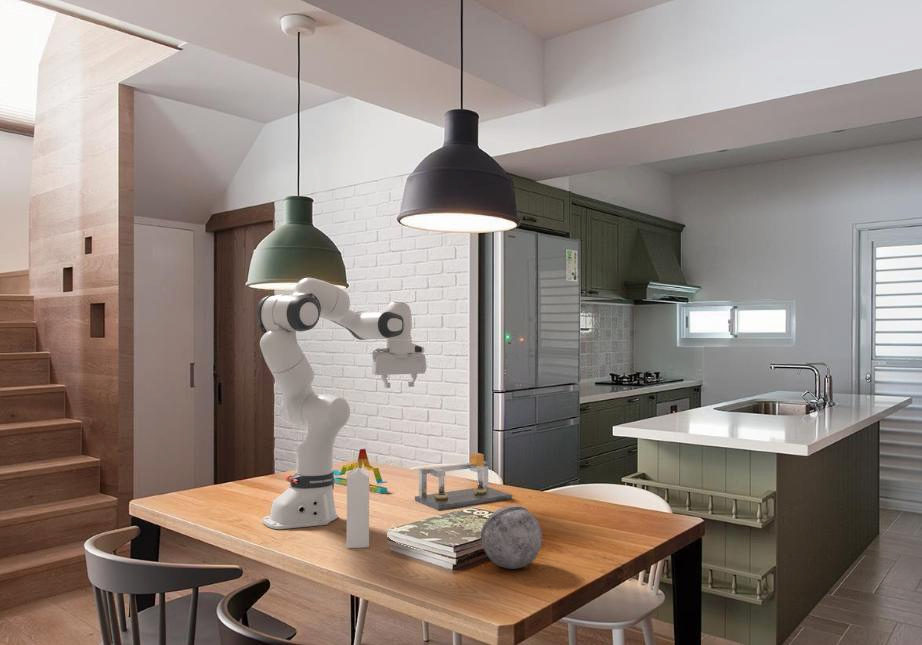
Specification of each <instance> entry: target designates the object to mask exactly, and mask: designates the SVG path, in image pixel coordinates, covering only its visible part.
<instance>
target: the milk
mask: <svg viewBox="0 0 922 645" xmlns="http://www.w3.org/2000/svg"><path fill="white" fill-rule="evenodd" d="M346 479H347V486H346V549H360V548H362V549H363V548H369V547H370V491H369V484H370V474H369V472H368V471H366V470H364V469H363V468H361V469H360V468H359V467H357V468H356V469H353V470H350V471H348V472H346Z"/></svg>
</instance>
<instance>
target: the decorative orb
mask: <svg viewBox="0 0 922 645" xmlns="http://www.w3.org/2000/svg"><path fill="white" fill-rule="evenodd" d="M480 541H481V544H482V548H483V550H484V552H485V554H486V556H487V557H488V558H489V559H490V561H492V562H493V563H494V564H495V565H497V566H499V567H500V568H505V569H508V570H509V569H510V570H513V569H515V570H516V569H521V568H524V567H526V566H527V565H530V563H532V562H533V561H534V560H535V559H536V557H537V556H538V554H539V553H540V551H541V547H542V542H543V533H542V528H541V526H540V523H539V520H537V518H536V517H535V515H534V514H533V513H531V512H530V511H529V510H528V509H527V508H525V507H523V506H520V505H509V506H504V507H501V508H498V509H496V511H494V512H493V513H491V514H490V516H488V517H487V519H486V521H485V522H484V523H483V526H482V528H481V531H480Z"/></svg>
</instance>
